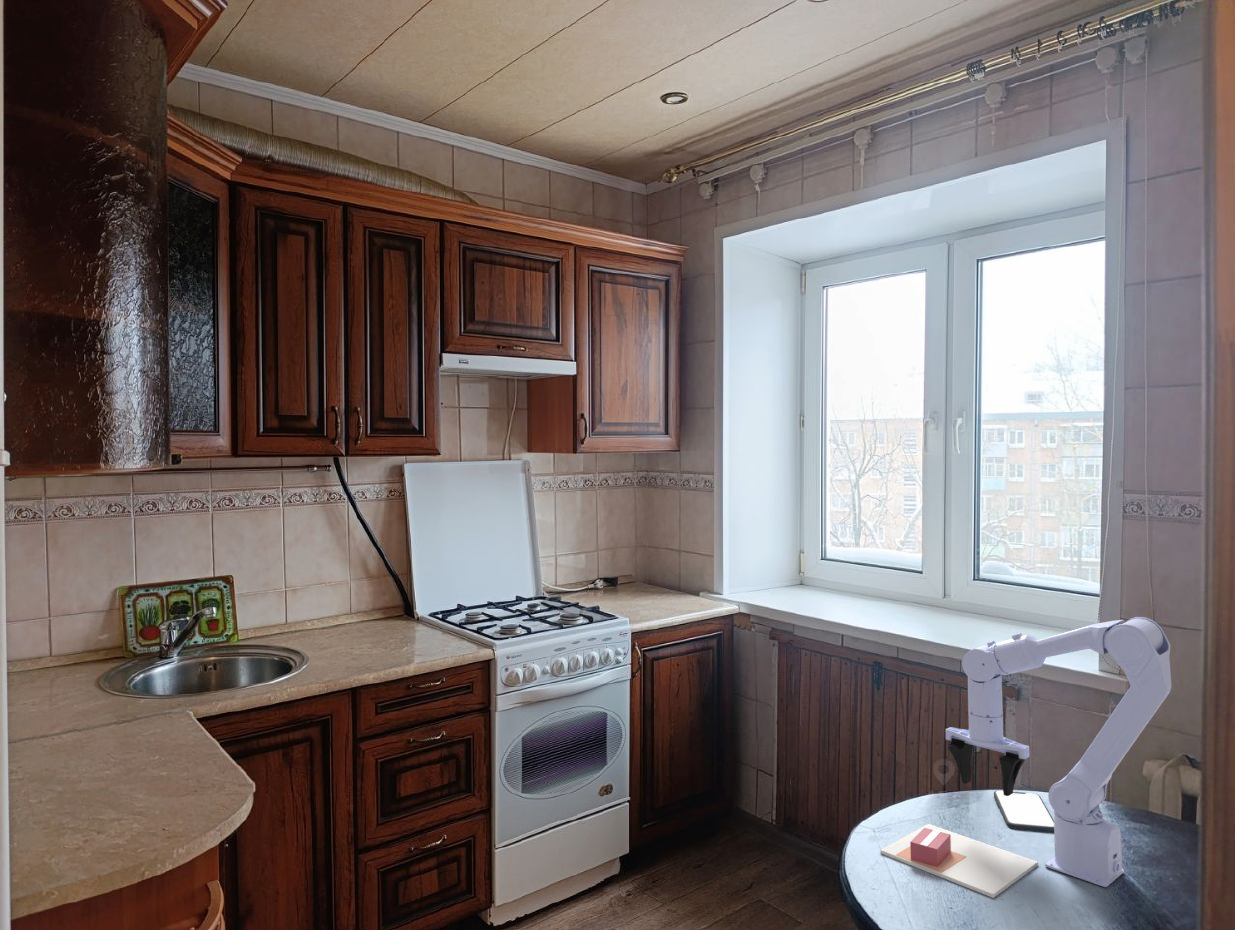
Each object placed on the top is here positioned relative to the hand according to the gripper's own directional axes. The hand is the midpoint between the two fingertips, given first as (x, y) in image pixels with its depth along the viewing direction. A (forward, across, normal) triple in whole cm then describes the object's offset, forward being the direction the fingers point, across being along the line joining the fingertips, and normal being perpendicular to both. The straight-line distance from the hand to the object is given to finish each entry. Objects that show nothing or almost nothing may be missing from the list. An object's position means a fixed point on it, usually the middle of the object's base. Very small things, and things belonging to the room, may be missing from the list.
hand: (987, 788), depth 147 cm
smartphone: (+10, +1, -16) cm, 19 cm away
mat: (+9, 0, +11) cm, 14 cm away
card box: (+9, +3, +14) cm, 17 cm away
